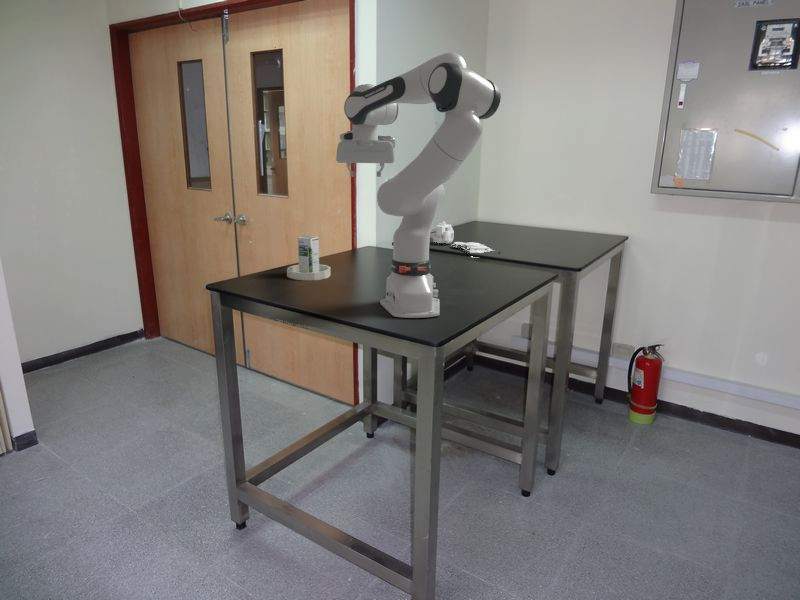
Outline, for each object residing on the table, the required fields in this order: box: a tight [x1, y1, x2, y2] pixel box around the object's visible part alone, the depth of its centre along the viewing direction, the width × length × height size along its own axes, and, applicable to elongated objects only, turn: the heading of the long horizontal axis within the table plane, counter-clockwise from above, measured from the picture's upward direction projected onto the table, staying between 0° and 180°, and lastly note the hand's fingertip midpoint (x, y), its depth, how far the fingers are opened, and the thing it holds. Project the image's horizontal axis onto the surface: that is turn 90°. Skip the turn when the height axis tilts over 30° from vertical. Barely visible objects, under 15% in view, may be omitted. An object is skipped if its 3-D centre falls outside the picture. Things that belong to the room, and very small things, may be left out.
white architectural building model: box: [451, 241, 494, 258], centre depth 254 cm, size 23×25×4 cm
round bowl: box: [286, 263, 332, 281], centre depth 203 cm, size 16×16×3 cm
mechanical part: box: [430, 220, 455, 244], centre depth 270 cm, size 11×12×12 cm
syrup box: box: [297, 235, 320, 273], centre depth 201 cm, size 6×6×14 cm
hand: (365, 176), depth 190 cm, fingers open, 8 cm apart
